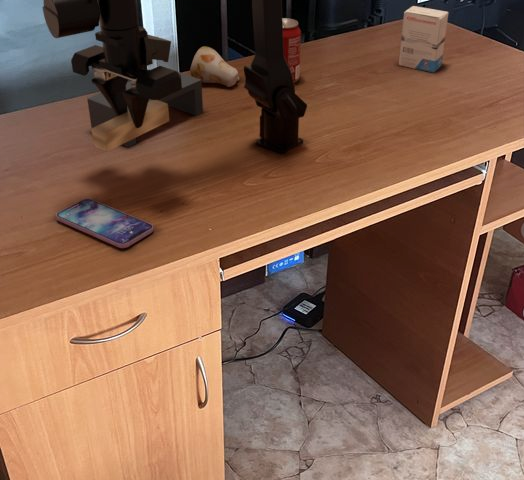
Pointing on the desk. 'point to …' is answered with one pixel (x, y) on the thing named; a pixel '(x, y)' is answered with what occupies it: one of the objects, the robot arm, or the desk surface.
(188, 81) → the small grey bench
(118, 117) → the stick
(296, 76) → the soda can
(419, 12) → the ink box
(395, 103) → the desk surface
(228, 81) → the cream rounded tapered piece
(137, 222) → the smartphone
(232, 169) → the desk surface
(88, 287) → the desk surface
